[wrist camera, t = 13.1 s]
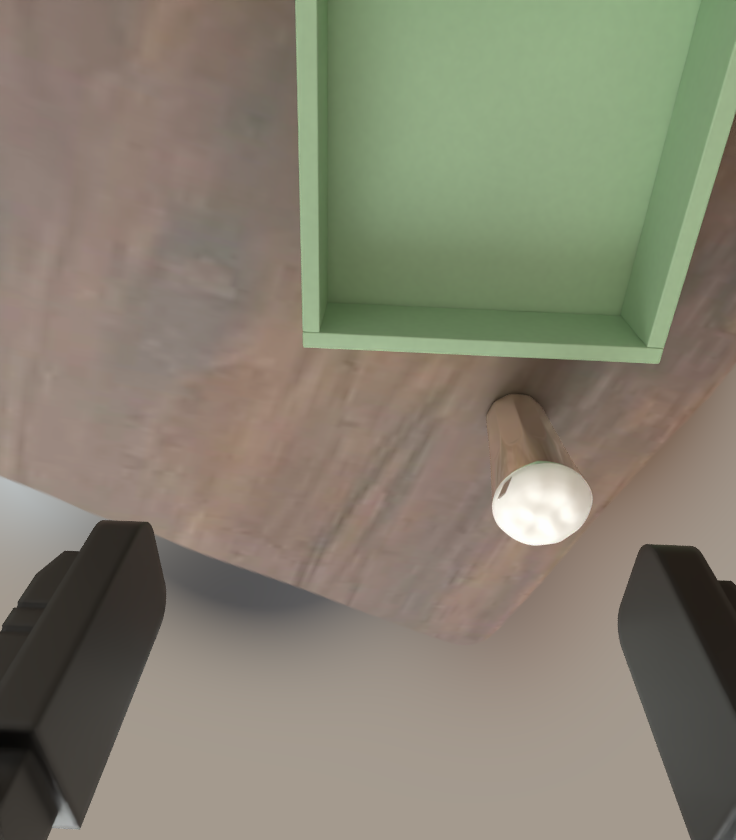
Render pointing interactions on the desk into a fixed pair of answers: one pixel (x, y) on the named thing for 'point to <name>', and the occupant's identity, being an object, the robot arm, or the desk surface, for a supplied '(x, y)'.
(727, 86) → the tote
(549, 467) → the milkshake
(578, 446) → the desk surface
